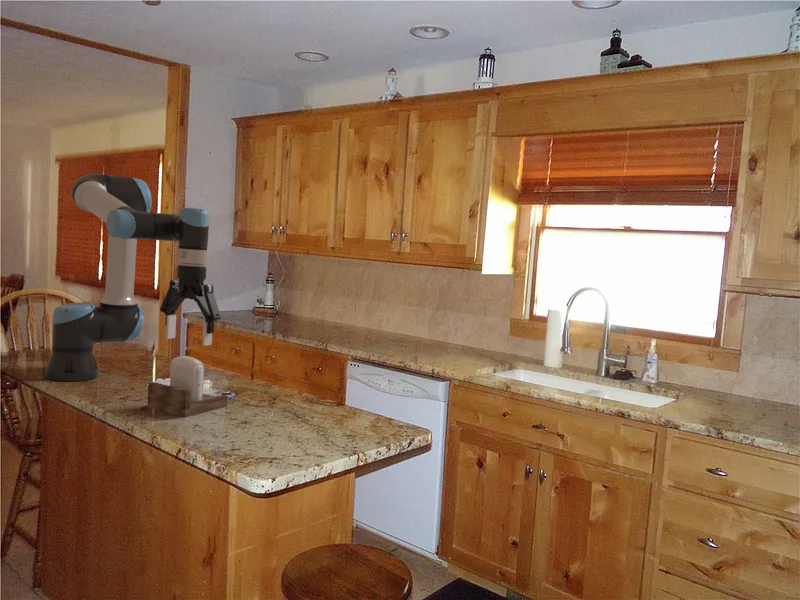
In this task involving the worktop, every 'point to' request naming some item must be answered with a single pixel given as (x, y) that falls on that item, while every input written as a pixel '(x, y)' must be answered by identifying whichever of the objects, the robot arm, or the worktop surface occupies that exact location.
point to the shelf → (180, 400)
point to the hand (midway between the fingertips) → (188, 341)
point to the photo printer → (188, 376)
